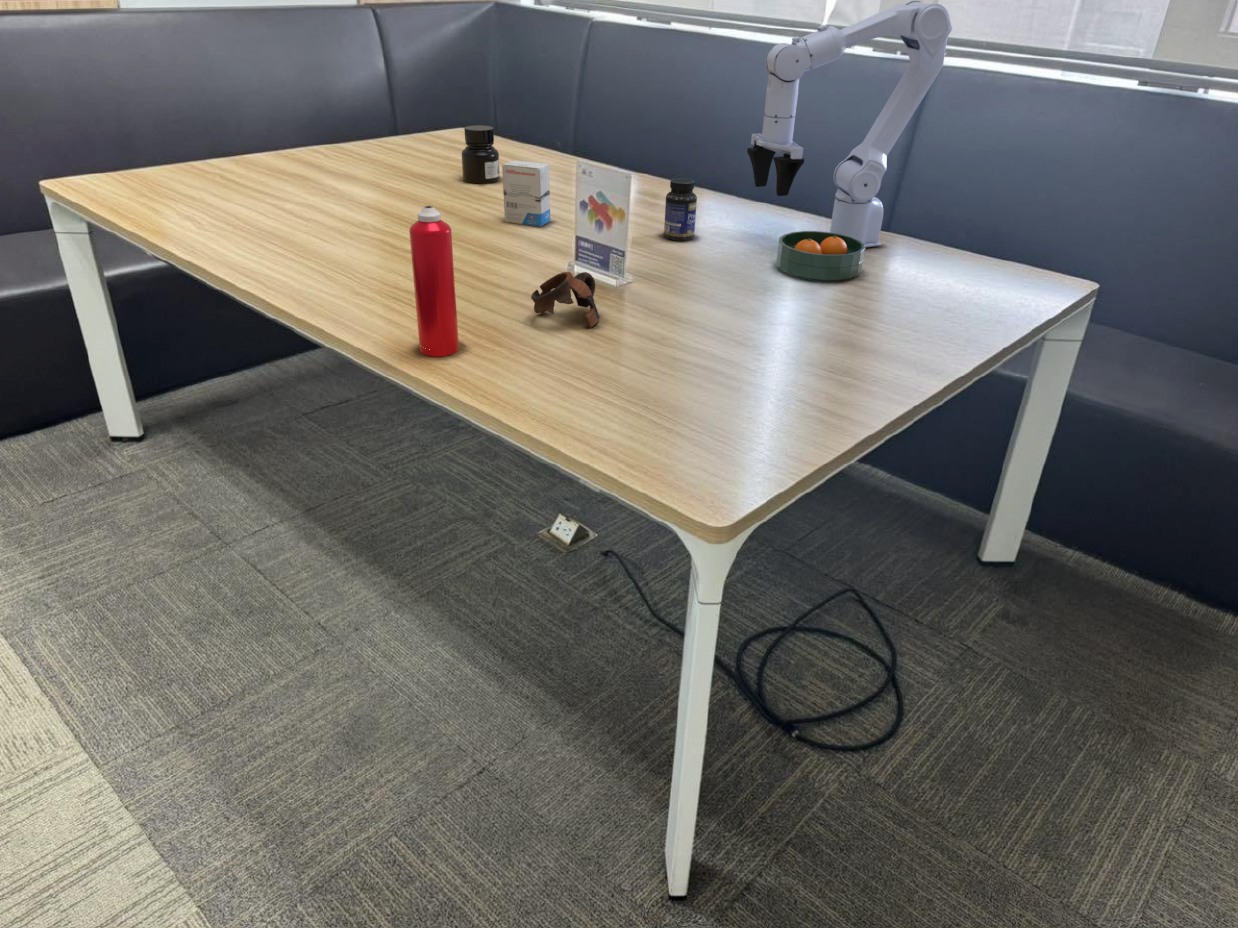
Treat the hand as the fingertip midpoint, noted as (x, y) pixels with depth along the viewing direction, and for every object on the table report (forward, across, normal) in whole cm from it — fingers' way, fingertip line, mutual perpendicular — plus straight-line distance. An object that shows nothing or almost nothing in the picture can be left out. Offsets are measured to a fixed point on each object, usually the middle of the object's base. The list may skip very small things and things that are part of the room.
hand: (771, 190), depth 172 cm
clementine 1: (+10, +17, -2) cm, 20 cm away
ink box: (+11, -30, -39) cm, 50 cm away
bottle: (+11, +29, -73) cm, 79 cm away
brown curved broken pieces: (+11, +24, -51) cm, 57 cm away
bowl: (+10, +17, 0) cm, 20 cm away
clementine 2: (+10, +17, +3) cm, 20 cm away
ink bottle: (+11, -69, -37) cm, 79 cm away
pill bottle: (+11, -10, -14) cm, 20 cm away
